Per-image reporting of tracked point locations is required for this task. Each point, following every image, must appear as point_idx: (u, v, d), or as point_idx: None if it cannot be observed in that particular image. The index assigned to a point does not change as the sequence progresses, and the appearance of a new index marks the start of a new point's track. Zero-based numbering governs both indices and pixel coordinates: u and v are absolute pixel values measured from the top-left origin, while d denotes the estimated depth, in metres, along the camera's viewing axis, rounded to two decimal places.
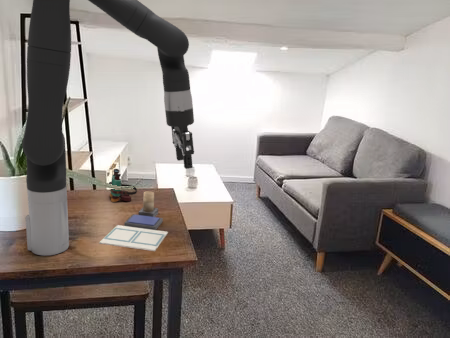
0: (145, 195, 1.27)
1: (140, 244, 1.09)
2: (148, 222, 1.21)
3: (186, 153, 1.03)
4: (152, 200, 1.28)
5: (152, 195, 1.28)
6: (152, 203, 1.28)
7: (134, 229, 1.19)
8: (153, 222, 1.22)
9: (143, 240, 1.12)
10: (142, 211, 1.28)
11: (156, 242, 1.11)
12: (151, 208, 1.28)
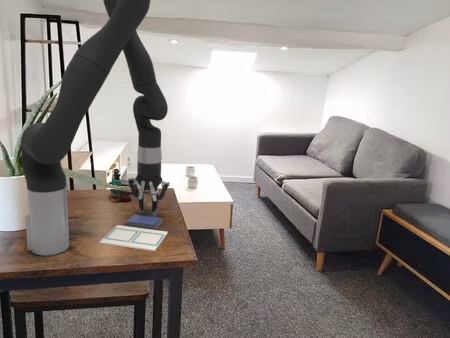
0: (145, 195, 1.27)
1: (140, 244, 1.09)
2: (148, 222, 1.21)
3: (161, 198, 1.27)
4: (152, 200, 1.28)
5: None
6: None
7: (134, 229, 1.19)
8: (153, 222, 1.22)
9: (143, 240, 1.12)
10: (142, 211, 1.28)
11: (156, 242, 1.11)
12: (151, 208, 1.29)
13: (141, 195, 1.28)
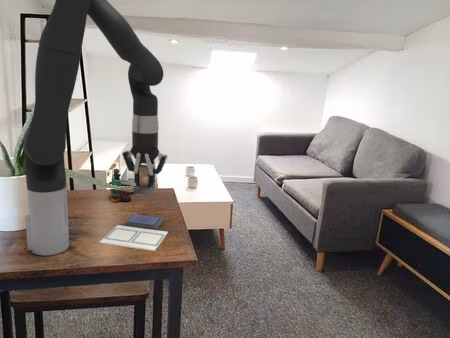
0: (141, 168, 1.17)
1: (140, 244, 1.09)
2: (148, 222, 1.21)
3: (159, 172, 1.17)
4: (148, 174, 1.18)
5: (148, 169, 1.18)
6: (148, 177, 1.19)
7: (134, 229, 1.19)
8: (153, 222, 1.22)
9: (143, 240, 1.12)
10: (138, 186, 1.19)
11: (156, 242, 1.11)
12: (147, 183, 1.19)
13: (136, 169, 1.18)
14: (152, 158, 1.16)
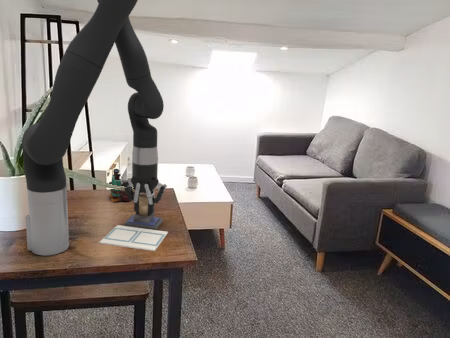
0: (140, 198, 1.20)
1: (140, 244, 1.09)
2: None
3: None
4: (148, 203, 1.21)
5: None
6: None
7: (134, 229, 1.19)
8: (153, 222, 1.22)
9: (143, 240, 1.12)
10: (137, 215, 1.21)
11: (156, 242, 1.11)
12: (147, 212, 1.21)
13: (136, 198, 1.20)
14: (152, 188, 1.19)
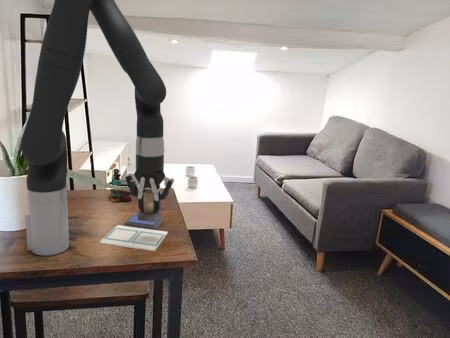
0: (145, 194, 1.08)
1: (140, 244, 1.09)
2: (148, 222, 1.21)
3: None
4: (153, 200, 1.09)
5: (153, 194, 1.09)
6: None
7: (134, 229, 1.19)
8: (153, 222, 1.22)
9: (143, 240, 1.12)
10: (142, 213, 1.09)
11: (156, 242, 1.11)
12: (152, 209, 1.10)
13: (141, 194, 1.09)
14: (157, 182, 1.07)
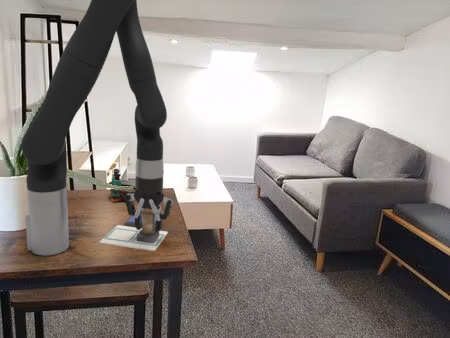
0: (144, 216, 1.10)
1: (140, 244, 1.09)
2: None
3: (166, 218, 1.10)
4: (152, 221, 1.11)
5: (152, 215, 1.10)
6: (152, 225, 1.11)
7: (134, 229, 1.19)
8: None
9: None
10: (141, 234, 1.11)
11: (156, 242, 1.11)
12: (151, 230, 1.11)
13: (137, 213, 1.10)
14: (157, 203, 1.09)
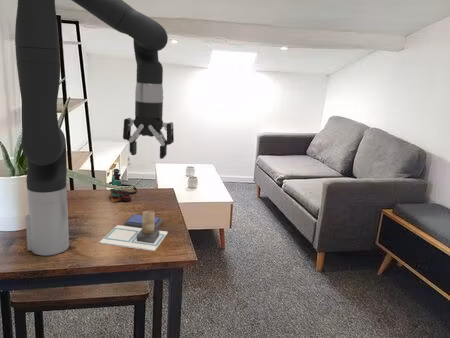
0: (144, 216, 1.10)
1: (140, 244, 1.09)
2: None
3: (171, 142, 1.10)
4: (152, 221, 1.11)
5: (152, 215, 1.10)
6: (152, 225, 1.11)
7: (134, 229, 1.19)
8: None
9: None
10: (141, 234, 1.11)
11: (156, 242, 1.11)
12: (151, 230, 1.11)
13: (133, 138, 1.11)
14: (157, 128, 1.09)
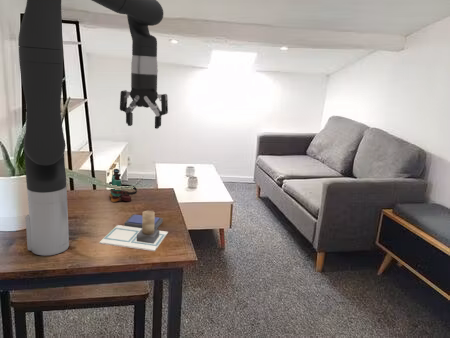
0: (144, 216, 1.10)
1: (140, 244, 1.09)
2: None
3: (165, 112, 1.16)
4: (152, 221, 1.11)
5: (152, 215, 1.10)
6: (152, 225, 1.11)
7: (134, 229, 1.19)
8: None
9: None
10: (141, 234, 1.11)
11: (156, 242, 1.11)
12: (151, 230, 1.11)
13: (129, 109, 1.18)
14: (152, 99, 1.16)
